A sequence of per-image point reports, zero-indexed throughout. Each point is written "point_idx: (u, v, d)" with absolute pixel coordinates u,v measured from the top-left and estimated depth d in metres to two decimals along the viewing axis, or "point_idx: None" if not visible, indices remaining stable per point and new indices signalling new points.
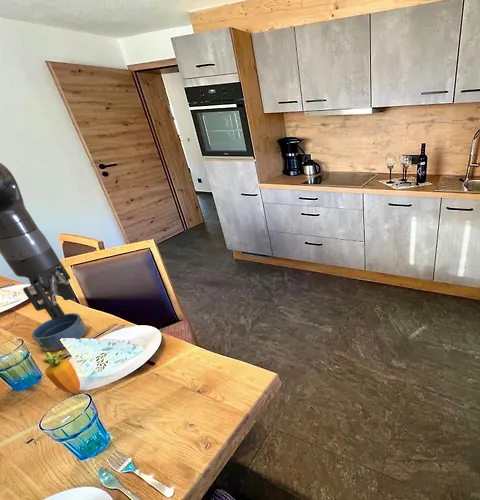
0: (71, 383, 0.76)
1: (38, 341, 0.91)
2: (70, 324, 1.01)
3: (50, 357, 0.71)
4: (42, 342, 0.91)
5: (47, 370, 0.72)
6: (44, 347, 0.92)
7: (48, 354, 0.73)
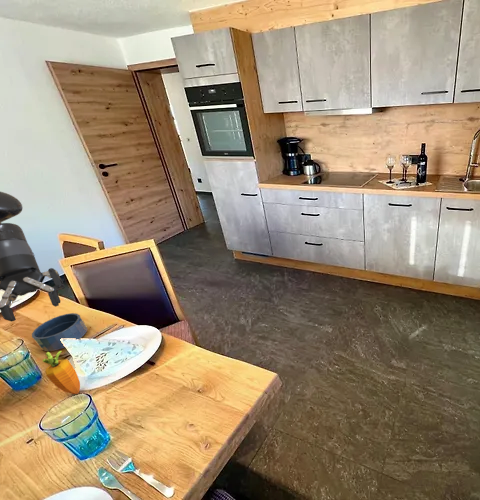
0: (71, 383, 0.76)
1: (38, 341, 0.91)
2: (70, 324, 1.01)
3: (50, 357, 0.71)
4: (42, 342, 0.91)
5: (47, 370, 0.72)
6: (44, 347, 0.92)
7: (48, 354, 0.73)
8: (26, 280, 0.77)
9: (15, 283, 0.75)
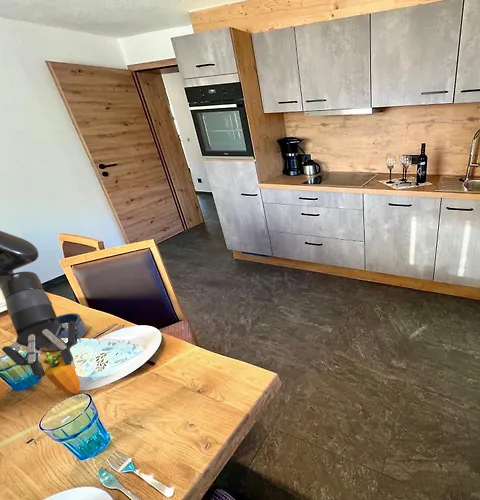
0: (71, 383, 0.76)
1: None
2: None
3: (50, 357, 0.71)
4: None
5: (47, 370, 0.72)
6: (44, 347, 0.92)
7: (48, 354, 0.73)
8: (44, 333, 0.73)
9: (34, 336, 0.72)
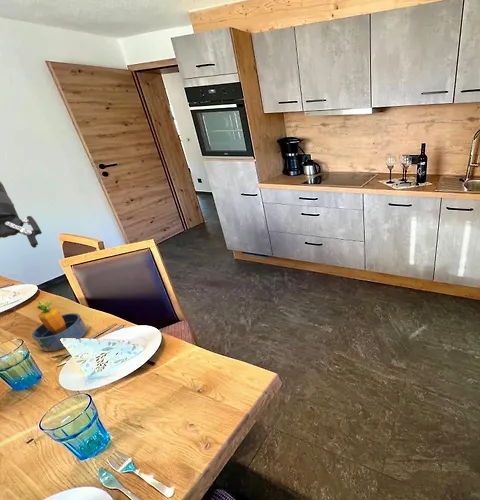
0: (59, 327, 0.95)
1: (38, 341, 0.91)
2: (70, 324, 1.01)
3: (42, 304, 0.90)
4: (42, 342, 0.91)
5: (40, 315, 0.91)
6: (44, 347, 0.92)
7: (41, 302, 0.92)
8: (7, 224, 0.90)
9: None
